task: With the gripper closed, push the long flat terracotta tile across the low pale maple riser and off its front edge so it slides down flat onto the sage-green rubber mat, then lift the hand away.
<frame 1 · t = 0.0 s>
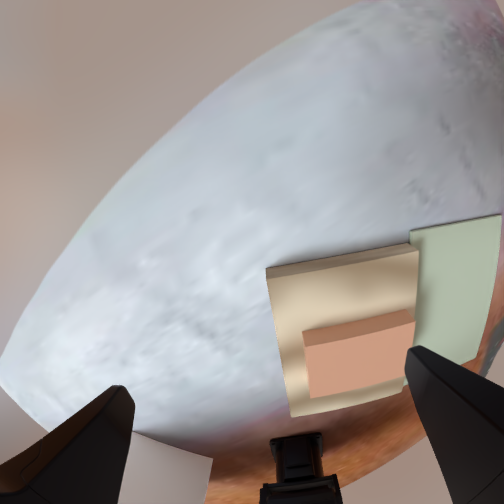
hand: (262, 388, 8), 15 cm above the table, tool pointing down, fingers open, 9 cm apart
riser: (345, 337, 24), on the table
mat: (452, 307, 23), on the table
tile: (356, 349, 22), point 2 cm above the table, touching riser
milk: (164, 459, 33), on the table
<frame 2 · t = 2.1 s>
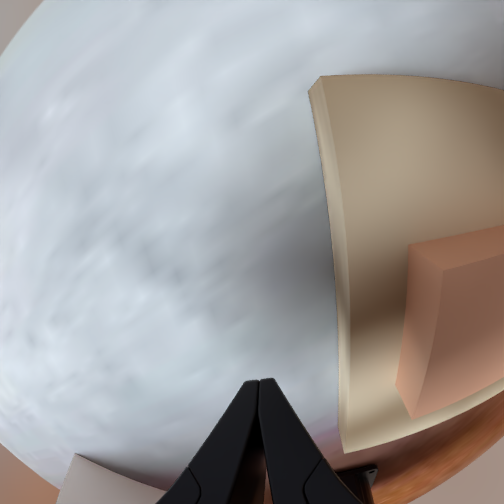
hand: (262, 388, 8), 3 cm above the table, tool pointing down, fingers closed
riser: (459, 279, 10), on the table
tile: (492, 297, 8), point 2 cm above the table, touching riser
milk: (131, 493, 19), on the table
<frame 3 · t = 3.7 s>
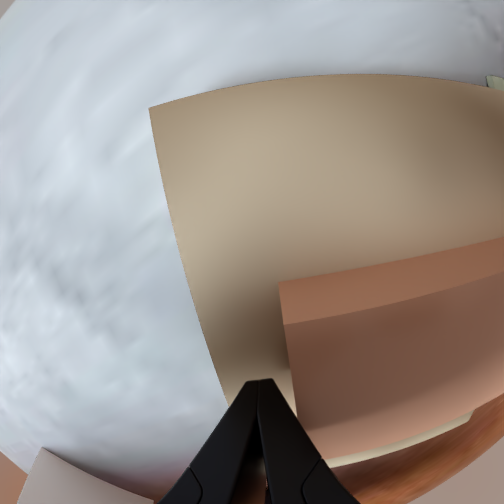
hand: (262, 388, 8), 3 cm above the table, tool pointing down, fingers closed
riser: (379, 313, 10), on the table
tile: (421, 337, 8), point 2 cm above the table, touching gripper, riser
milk: (96, 488, 19), on the table
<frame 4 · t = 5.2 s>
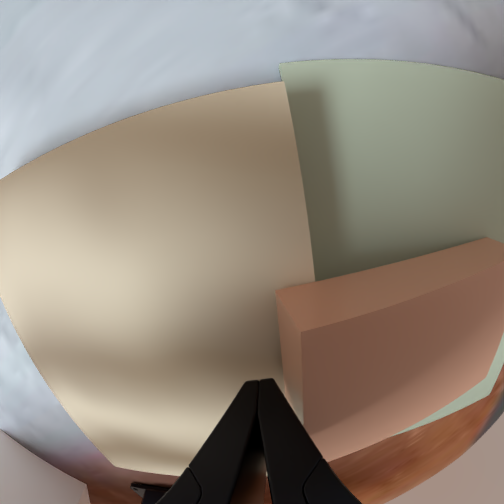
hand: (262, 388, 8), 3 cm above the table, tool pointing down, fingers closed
riser: (160, 345, 11), on the table
mat: (448, 295, 10), on the table
tile: (403, 336, 9), point 1 cm above the table, tilted 12°, touching gripper
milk: (47, 471, 20), on the table
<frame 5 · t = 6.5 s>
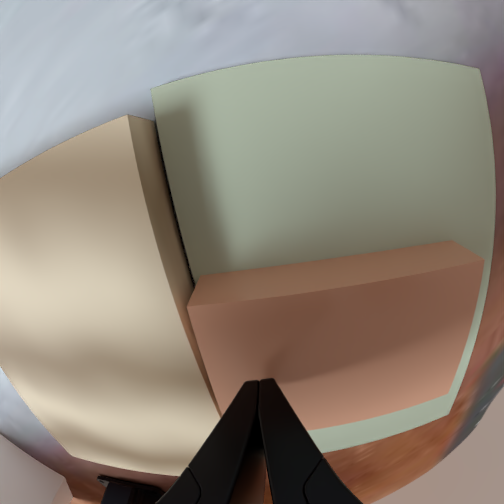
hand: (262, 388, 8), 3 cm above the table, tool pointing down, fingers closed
riser: (88, 347, 11), on the table
mat: (370, 314, 10), on the table
tile: (341, 333, 10), resting on mat
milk: (32, 464, 20), on the table
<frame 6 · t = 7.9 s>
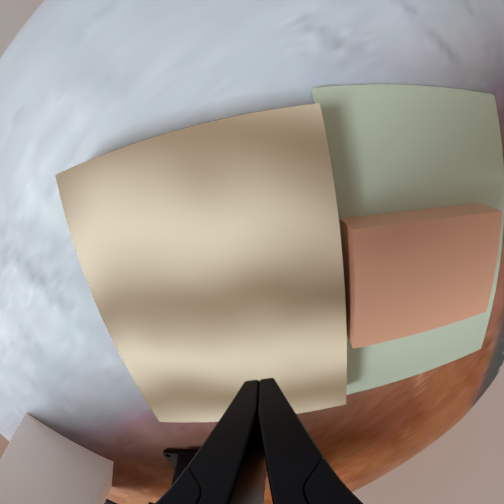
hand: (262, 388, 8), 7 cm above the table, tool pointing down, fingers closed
riser: (218, 293, 15), on the table
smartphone: (102, 501, 32), on the table
mat: (434, 252, 14), on the table
tile: (419, 264, 14), resting on mat
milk: (71, 454, 24), on the table
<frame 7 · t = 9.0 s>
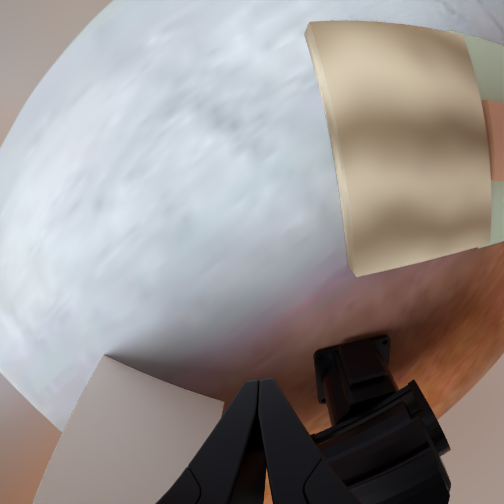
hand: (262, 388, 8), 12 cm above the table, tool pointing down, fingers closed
riser: (412, 139, 16), on the table
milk: (153, 411, 25), on the table
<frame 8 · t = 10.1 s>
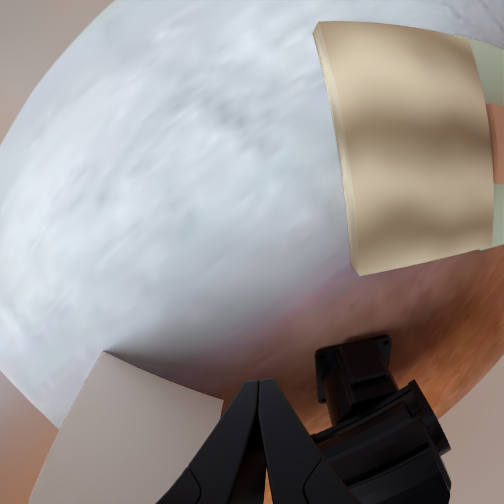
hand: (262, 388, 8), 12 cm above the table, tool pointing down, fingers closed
riser: (417, 141, 16), on the table
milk: (151, 408, 25), on the table
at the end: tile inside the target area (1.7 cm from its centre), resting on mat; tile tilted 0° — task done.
